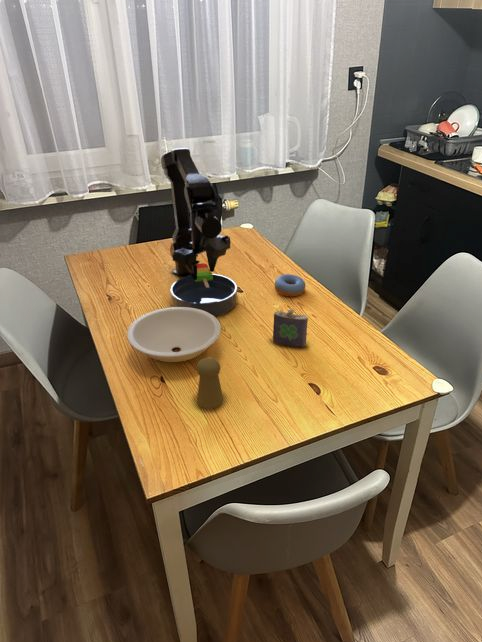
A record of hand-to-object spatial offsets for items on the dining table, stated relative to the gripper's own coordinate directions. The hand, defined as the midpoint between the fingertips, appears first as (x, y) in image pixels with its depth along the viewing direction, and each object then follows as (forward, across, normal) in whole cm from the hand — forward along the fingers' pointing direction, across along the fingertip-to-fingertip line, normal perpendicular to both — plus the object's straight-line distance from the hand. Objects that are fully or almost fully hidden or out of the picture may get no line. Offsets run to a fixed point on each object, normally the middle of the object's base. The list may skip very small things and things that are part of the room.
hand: (203, 275), depth 150 cm
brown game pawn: (+9, -33, -34) cm, 48 cm away
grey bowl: (+9, -24, -13) cm, 29 cm away
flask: (+9, -2, -34) cm, 35 cm away
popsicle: (+1, 0, 0) cm, 1 cm away
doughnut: (+9, +23, -16) cm, 29 cm away
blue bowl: (+9, 0, 0) cm, 9 cm away
